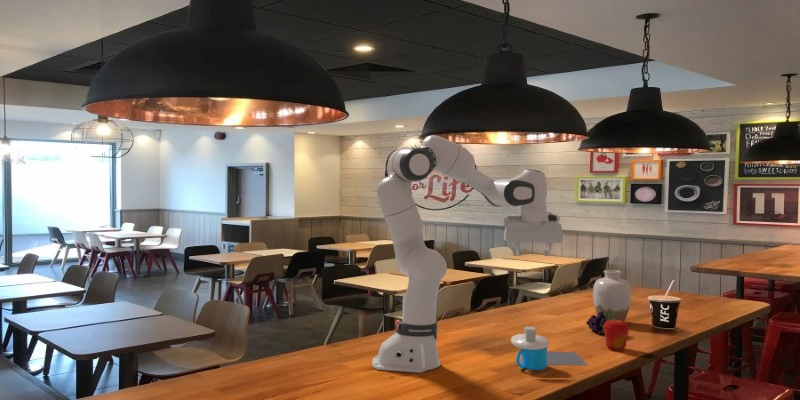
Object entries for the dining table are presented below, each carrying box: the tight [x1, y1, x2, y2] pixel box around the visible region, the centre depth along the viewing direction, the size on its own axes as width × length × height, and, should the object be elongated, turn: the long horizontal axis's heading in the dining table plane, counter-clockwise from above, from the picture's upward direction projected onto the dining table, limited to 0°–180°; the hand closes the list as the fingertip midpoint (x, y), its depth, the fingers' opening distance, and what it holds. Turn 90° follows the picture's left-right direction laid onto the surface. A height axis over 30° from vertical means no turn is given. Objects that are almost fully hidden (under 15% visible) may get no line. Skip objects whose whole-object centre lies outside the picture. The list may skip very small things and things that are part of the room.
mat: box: [547, 351, 588, 366], centre depth 211 cm, size 16×16×1 cm
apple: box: [604, 320, 630, 352], centre depth 225 cm, size 9×8×12 cm
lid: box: [510, 326, 550, 350], centre depth 199 cm, size 12×12×5 cm
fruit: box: [585, 310, 616, 336], centre depth 249 cm, size 10×11×15 cm
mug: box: [515, 347, 548, 371], centre depth 199 cm, size 12×8×8 cm
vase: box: [592, 269, 632, 322], centre depth 268 cm, size 16×16×23 cm
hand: (532, 255), depth 216 cm, fingers open, 8 cm apart
